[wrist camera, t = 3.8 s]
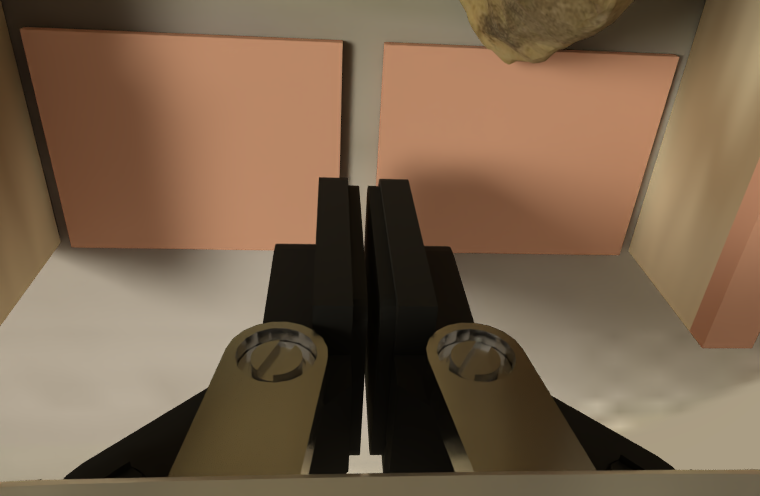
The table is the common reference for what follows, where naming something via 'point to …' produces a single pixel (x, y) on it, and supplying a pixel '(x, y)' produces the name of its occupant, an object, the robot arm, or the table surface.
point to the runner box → (657, 216)
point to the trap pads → (395, 149)
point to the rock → (538, 24)
